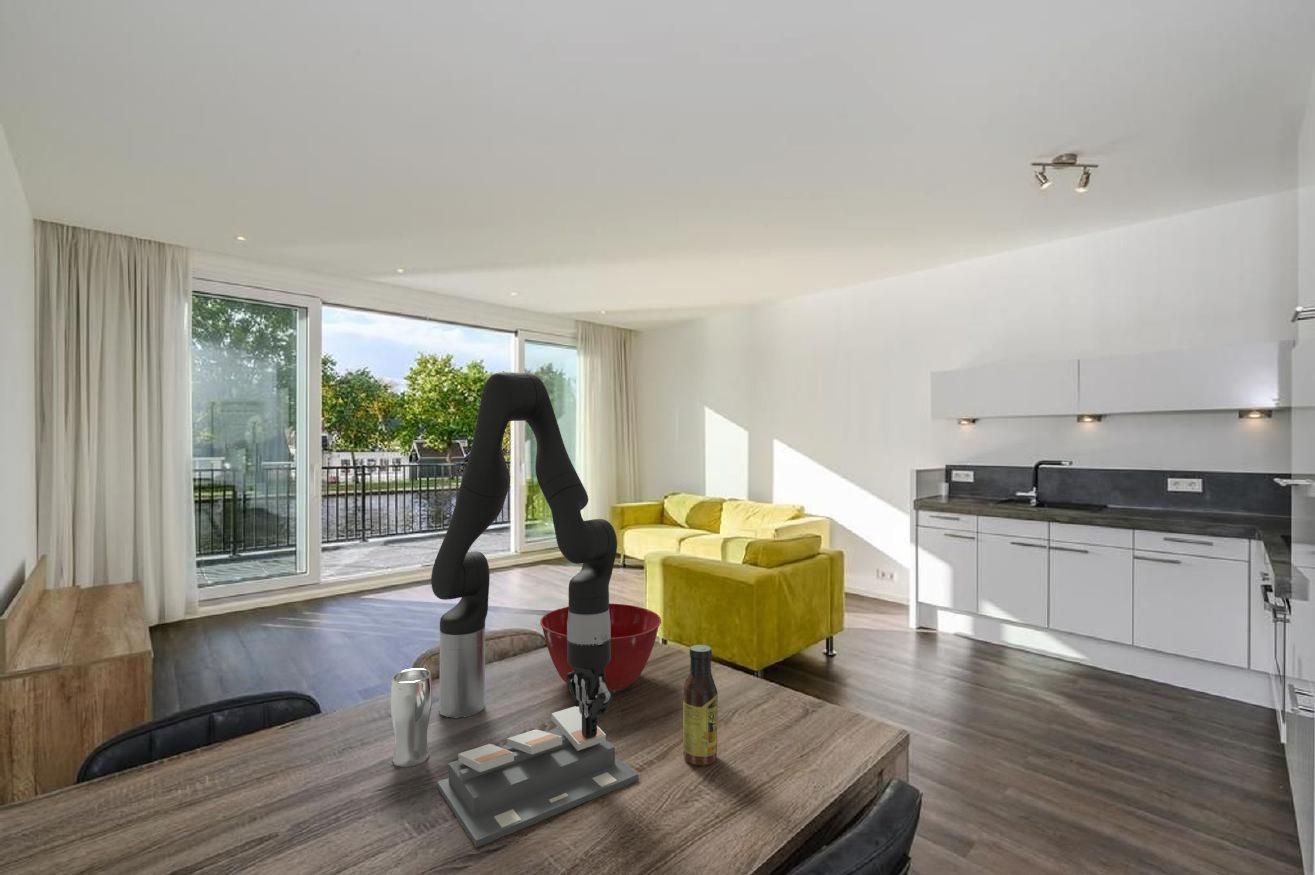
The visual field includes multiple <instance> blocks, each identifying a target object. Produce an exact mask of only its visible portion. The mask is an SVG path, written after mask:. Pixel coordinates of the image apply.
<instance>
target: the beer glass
mask: <svg viewBox="0 0 1315 875" xmlns="http://www.w3.org/2000/svg"><path fill="white" fill-rule="evenodd" d="M432 684H433V683H432V672H431V670H429V669H425V668H419V667H418V668H408V669H404V670H402V671H399V672H397V673H395V674H393V675H392V677H391V687H390V714H391V721H392V726H393V731H394V738H395V740H394V741H395V743H394V745H395V746H394V751H393V756H392V763H393V762H394V763H393V765H395V766H396V765H397V766H396V767H398V766H400V767H399V768H411V766H412V767H415V765H416V766H418V765H420V764H419V763H421V764H423V763H425V762H426V761H425V760H428V759H427V758H430V757H429V756H430V749H429V744H428V729H429V723H430V718H431V713H432V705H433V685H432ZM422 762H423V763H422ZM417 764H418V765H417Z"/></svg>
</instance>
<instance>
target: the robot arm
mask: <svg viewBox="0 0 1315 875" xmlns="http://www.w3.org/2000/svg"><path fill="white" fill-rule="evenodd" d="M553 407H554V406H553V405H552V401H551V398H550V395H549V392H548V391H547V388H546V385H545V383H544V382H543V380H541V378H540V377H539V376H537V375H536V374H532V373H529V372H528V373H526V372H511V371H497V372H494V373H493V374H491V375H490V376H489V377H488V378H487V380H486V382H485V384H484V386H483V389H482V392H481V397H480V402H479V407H478V412H477V420H476V425H475V429H474V436H473V440H472V442H471V443H472V444H471V448H470V452H469V456H468V459H467V463H466V466H465V470H464V472H463V475H462V478H461V482H460V484H459V489H458V493H457V495H456V501H455V505H454V508H453V511H452V514H451V519H450V521H449V524H448V526H447V530H446V533H445V536H444V538H443V541H442V542H441V545H440V547H439V550H438V552H437V555H436V556H435V557H436V558H435V560H434V563H433V565H432V566H433V567H432V571H431V578H430V579H431V580H430V583H431V584H430V585H431V589H432V590H431V591H432V592H433V594H434V596H435V597H437V598H438V599H439V600H443V601H445V600H446V601H447V600H455V599H459V601H458V602H457V604H456V605H455V606H453V607H452V608H450V609H449V610H448V611H446V612H445V613H443V615H442V616H441V617H440V620H439V701H438V702H439V706H438V708H439V710H438V712H439V711H440V712H439V714H440V713H441V714H440V715H441V716H442V715H444V716H446V717H445V718H448V717H451V718H450V719H453V718H452V717H463V718H465V717H464V716H468V717H470V716H469V715H472V716H475V715H477V714H479V713H480V712H482V711H483V709H485V705H486V704H485V702H486V698H485V696H486V693H485V691H486V619H487V617H488V616H487V615H488V611H489V593H490V580H491V579H490V566H489V562H488V560H487V557H486V556H485V554H484V553H482V552H481V551H478V550H473V551H469V550H470V548H471V547H472V545H474V543H475V542H476V540H477V539H478V538H479V537H480V536H481V535H482V534H483V533H484V532H485V531H486V530H487V529H488V528H489V527H490V526H491V525H492V523H494V521H495V520H497V518H498V517H499V516H500V514H501V513H502V511H503V508H504V505H505V502H506V498H507V495H508V492H509V488H510V484H511V476H510V471H509V468H508V465H507V462H506V459H505V456H504V453H503V440H504V438H505V437H504V436H505V433H506V429H507V427H508V424H509V422H521V421H522V422H523V421H524V422H526V423H527V424H528V426H529V427H530V429H531V431H532V432H533V435H534V438H535V441H536V454H535V465H534V468H535V469H534V470H535V476H536V480H537V483H538V486H539V488H540V490H541V492H542V494H543V497H544V499H545V500H546V502H547V505H548V506H549V508H550V511H551V518H552V523H553V528H554V529H553V530H554V535H555V538H556V543H557V546H558V549H559V551H560V553H561V554H562V556H563V557H564V558H565V559H566V560H567V561H568V562H571V563H572V564H578V565H580V564H582V567H581V569H580V570H579V572H578V573H577V574H576V575H574V576H572V578H571V579H570V580H569V583H568V607H569V612H568V621H567V662H568V664H569V665H570V666H571V667H573V672H570V673H567V674H566V678H567V681H568V684H567V685H568V688H569V691H570V694H571V697H572V702H573V704H574V706H576V707H578V706H579V712H580V714H582V735H583V736H584V737H586V738H587V739H589V738H592V737H594V736H596V735H597V726H598V716H601V715H605V714H606V712H607V710H608V708H609V706H610V705H611V703H612V701H613V699H614V698H615V693H614V692H613V690H610V691H608V689H607V687H606V685H605V683H606V675H605V670H604V669H605V667H606V666H607V664H609V662H610V660H611V622H610V614H609V603H610V590H609V589H610V581H611V578H612V575H613V571H614V566H615V562H616V557H617V551H618V539H617V533H616V531H615V529H614V525H612V523H611V522H610V521H608V520H606V519H604V518H603V519H602V518H595V519H593V518H592V519H588V520H584V519H583V516H582V512H581V511H582V510H583V509H585V508H586V507H587V505H588V502H589V496H588V492H587V490H586V488H585V487H584V484H583V483H582V481H581V479H580V476H579V475H578V473H577V471H576V469H575V467H574V465H573V462H572V460H571V459H570V456H569V453H568V452H567V451H568V450H567V449H566V446H565V442H564V439H563V435H562V433H561V430H560V427H559V424H558V421H557V417H556V414H555V411H554V408H553ZM444 716H443V717H444Z"/></svg>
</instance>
